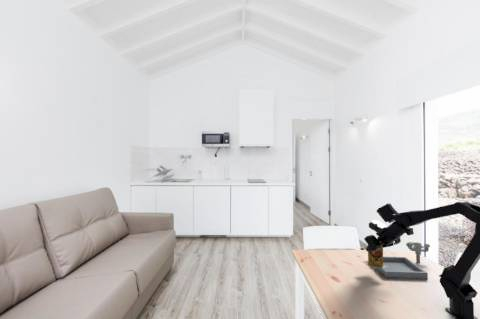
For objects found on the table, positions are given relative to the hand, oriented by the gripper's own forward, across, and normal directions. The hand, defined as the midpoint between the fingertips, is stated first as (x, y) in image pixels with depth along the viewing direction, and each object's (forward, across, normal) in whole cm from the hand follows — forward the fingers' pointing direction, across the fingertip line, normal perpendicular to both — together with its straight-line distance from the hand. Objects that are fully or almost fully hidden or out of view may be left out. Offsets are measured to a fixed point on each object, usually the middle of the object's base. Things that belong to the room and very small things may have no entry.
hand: (370, 249), depth 116 cm
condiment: (+4, 0, +6) cm, 7 cm away
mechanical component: (+7, -34, +11) cm, 37 cm away
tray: (+7, -16, +10) cm, 20 cm away
